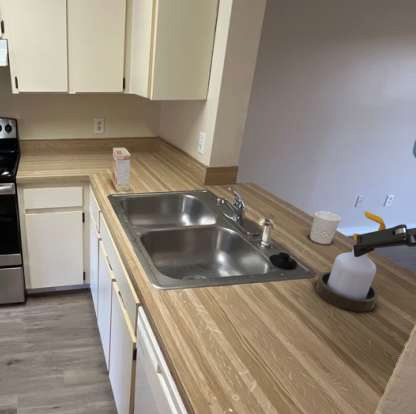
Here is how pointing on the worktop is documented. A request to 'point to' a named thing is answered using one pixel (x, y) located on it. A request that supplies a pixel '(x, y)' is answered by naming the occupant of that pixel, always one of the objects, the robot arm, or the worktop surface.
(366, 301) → the holder
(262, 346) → the worktop surface
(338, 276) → the soap bottle
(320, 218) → the white cup
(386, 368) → the worktop surface
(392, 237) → the robot arm
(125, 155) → the coffeecake box
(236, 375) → the worktop surface
